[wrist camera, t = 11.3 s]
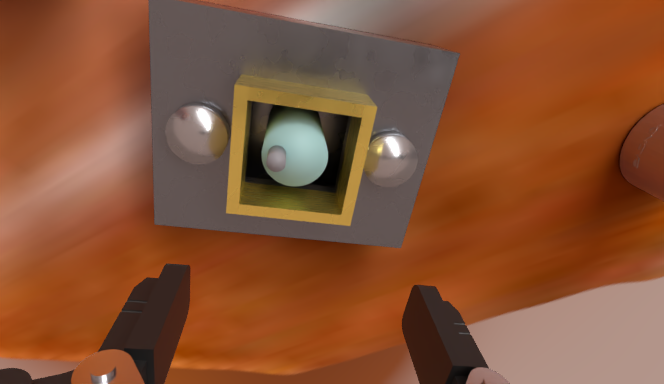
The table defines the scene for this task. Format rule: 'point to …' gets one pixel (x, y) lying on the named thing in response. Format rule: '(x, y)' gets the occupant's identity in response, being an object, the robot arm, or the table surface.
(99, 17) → the table surface
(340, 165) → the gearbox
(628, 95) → the table surface
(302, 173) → the spout can
